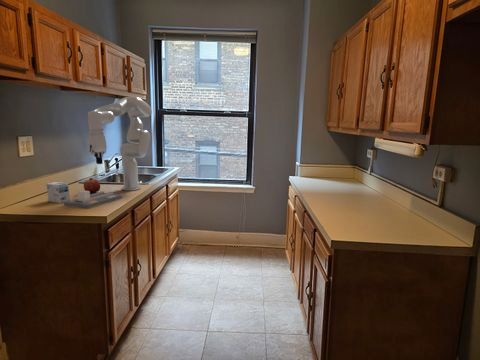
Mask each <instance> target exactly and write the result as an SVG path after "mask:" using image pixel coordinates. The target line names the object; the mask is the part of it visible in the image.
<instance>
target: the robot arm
mask: <svg viewBox="0 0 480 360" xmlns="http://www.w3.org/2000/svg"><path fill="white" fill-rule="evenodd" d="M152 111H153V110H152V108H151V106H150V105H149V104H148V103H147V102H146V101H144V100H143V99H141V98H140V97H138V96H127V97H123V98H121V99H119V100H117V101H116V102H113V103H110V104H107V105H106V104H105V105H103V106H100V107H97V108H96V109H94V110H91V111H88V112H87V119H88V120H87V122H88V130H89V135H88V139H87V140H88V141H87V144H88V145H87V149H88V152H89V153H90V155H92V156H94V158H95V162H96V164H97V165H103V164H104V163H103V157H104V154H106V153H107V148H108V146H107V141H106V140H107V139H106V136H105V133H104V132H105V131H104V124H105V125H106V124H111V123H113V122H114V121H115V118H116V117H120V116H122V115H125V113H127V114H128V117H129V120H130V124H129V128H128V131H127V135H126V140H127V143H123V144H122V145H121V146H120V150H119V151H120V156H121V160H122V176H123V186H122V187H121V190H123V191H127V192H128V191H138V190H141V189H142V187H141V185H142V184H143V181H142V180H141V181H139V171H138V162H137V158H138V159H140V158H141V159H142V158H144V157H146V155H147V152H148V149H149V145H150V141H151V134H150V131H148V130H146V129H143V128H144V123H143V122H142V120H141V118H149V117H150V116H151V115H152Z"/></svg>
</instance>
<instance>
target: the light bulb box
mask: <svg viewBox="0 0 480 360" xmlns="http://www.w3.org/2000/svg"><path fill="white" fill-rule="evenodd" d="M46 192H47V200H48V202H52V203H58V204H62V203H64V202H65V201H68V200H71V198H70V188H69V183H68V182H59V181H58V182H57V181H54V182H48V183H46Z"/></svg>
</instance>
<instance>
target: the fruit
mask: <svg viewBox="0 0 480 360" xmlns="http://www.w3.org/2000/svg"><path fill="white" fill-rule="evenodd" d="M83 189H84V191H90V194H95V193H98V192H100V189H101V183H100V181H98V179H94V178H93V177H90V178H89V179H87V180H85V181H84V183H83Z"/></svg>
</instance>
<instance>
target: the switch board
mask: <svg viewBox="0 0 480 360" xmlns="http://www.w3.org/2000/svg"><path fill="white" fill-rule="evenodd" d="M120 199H123V195H122V194H118V193H114V192H113V191H112V192H105V191H98V192H95V193H90V198H89V199H85V200H82V201H78V197H76V198H72V199H70V200H68V201H65V202H63V206H67V207H75V208H79V209H80V208H83V209H90V208H95V207H98V206H101V205H104V204H107V203H110V202H114V201H117V200H120Z"/></svg>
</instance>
